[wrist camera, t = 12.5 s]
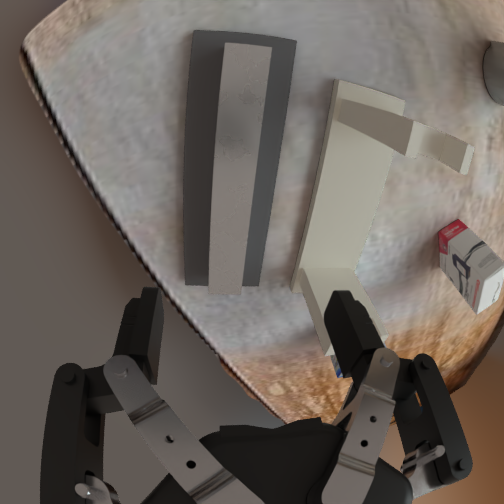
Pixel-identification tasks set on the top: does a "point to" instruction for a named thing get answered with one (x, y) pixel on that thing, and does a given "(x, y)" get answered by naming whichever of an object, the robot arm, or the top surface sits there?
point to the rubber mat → (203, 144)
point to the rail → (235, 161)
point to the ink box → (470, 265)
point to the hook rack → (358, 192)
